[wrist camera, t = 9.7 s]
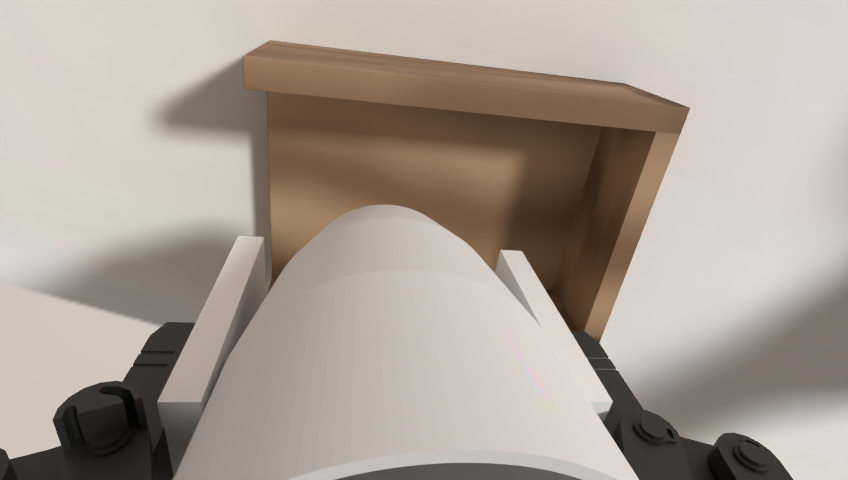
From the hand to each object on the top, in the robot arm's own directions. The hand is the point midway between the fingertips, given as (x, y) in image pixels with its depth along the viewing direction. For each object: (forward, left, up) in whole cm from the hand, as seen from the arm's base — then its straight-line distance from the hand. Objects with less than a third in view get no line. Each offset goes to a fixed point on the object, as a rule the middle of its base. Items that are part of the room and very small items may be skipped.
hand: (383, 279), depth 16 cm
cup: (0, 0, 0) cm, 0 cm away
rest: (0, +3, -8) cm, 9 cm away
